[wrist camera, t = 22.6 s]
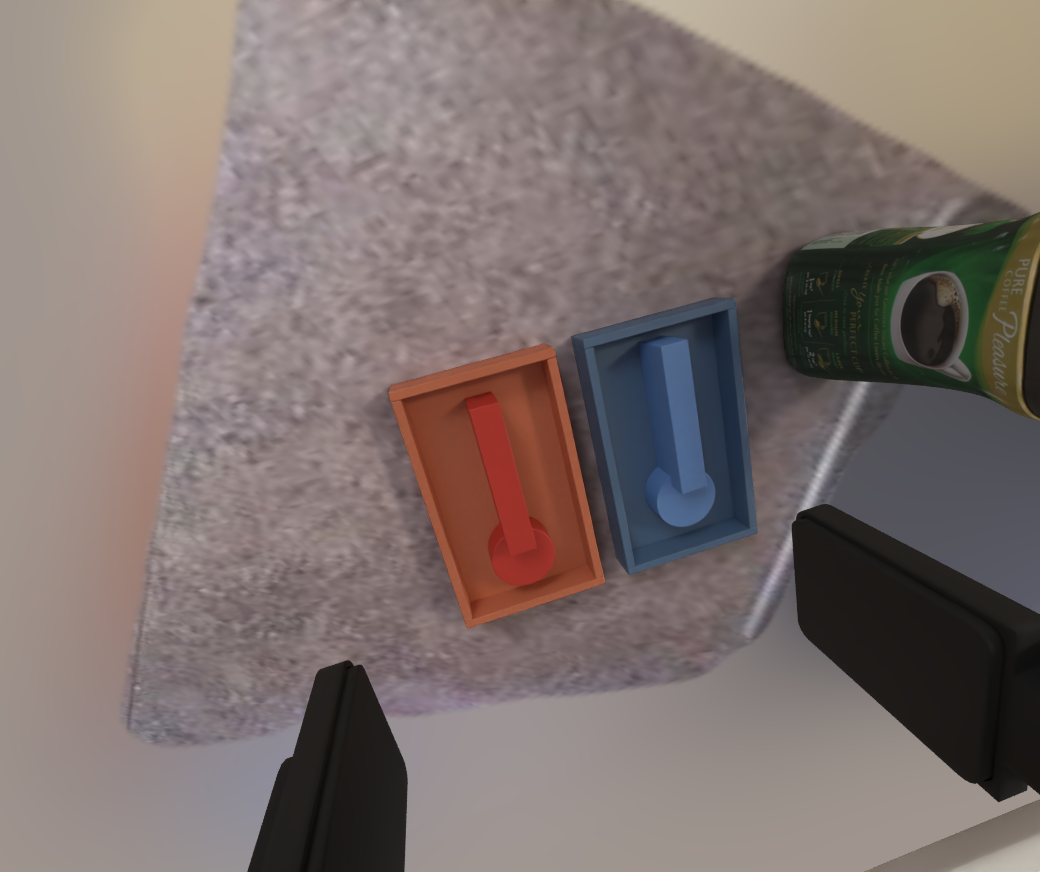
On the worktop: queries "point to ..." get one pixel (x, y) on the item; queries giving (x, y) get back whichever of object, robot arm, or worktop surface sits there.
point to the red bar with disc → (508, 501)
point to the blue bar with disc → (674, 434)
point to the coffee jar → (922, 309)
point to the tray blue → (629, 439)
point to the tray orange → (464, 486)
